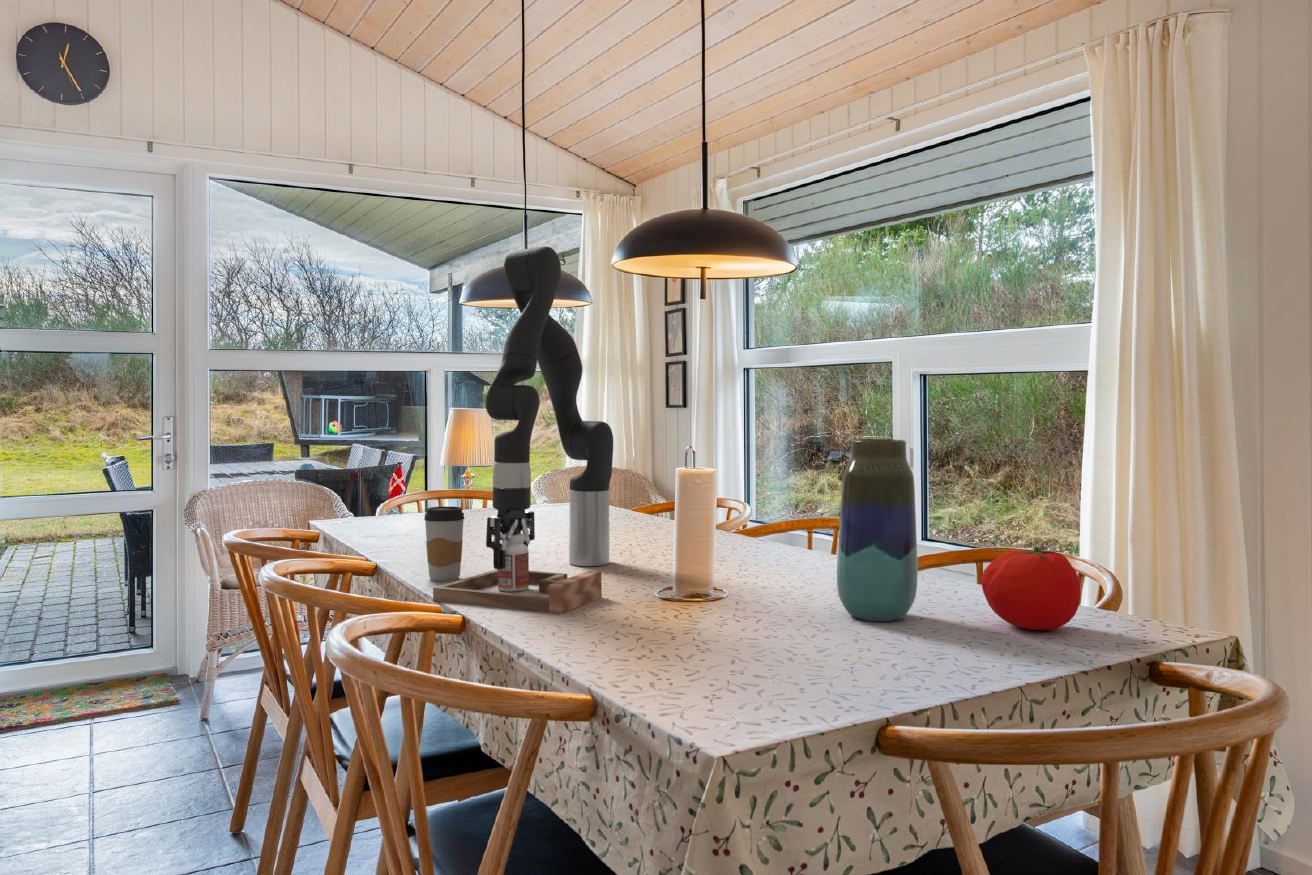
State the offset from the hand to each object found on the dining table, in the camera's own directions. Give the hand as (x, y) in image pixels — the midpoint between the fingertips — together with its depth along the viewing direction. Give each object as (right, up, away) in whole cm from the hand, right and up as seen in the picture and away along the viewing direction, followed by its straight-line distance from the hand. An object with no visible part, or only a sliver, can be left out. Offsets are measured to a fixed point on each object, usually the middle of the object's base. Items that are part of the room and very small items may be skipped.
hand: (510, 565), depth 188 cm
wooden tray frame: (+4, -5, -5) cm, 8 cm away
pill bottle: (0, -5, 0) cm, 5 cm away
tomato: (+92, -7, -30) cm, 97 cm away
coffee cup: (-16, -5, +11) cm, 20 cm away
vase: (+68, -6, -22) cm, 72 cm away
